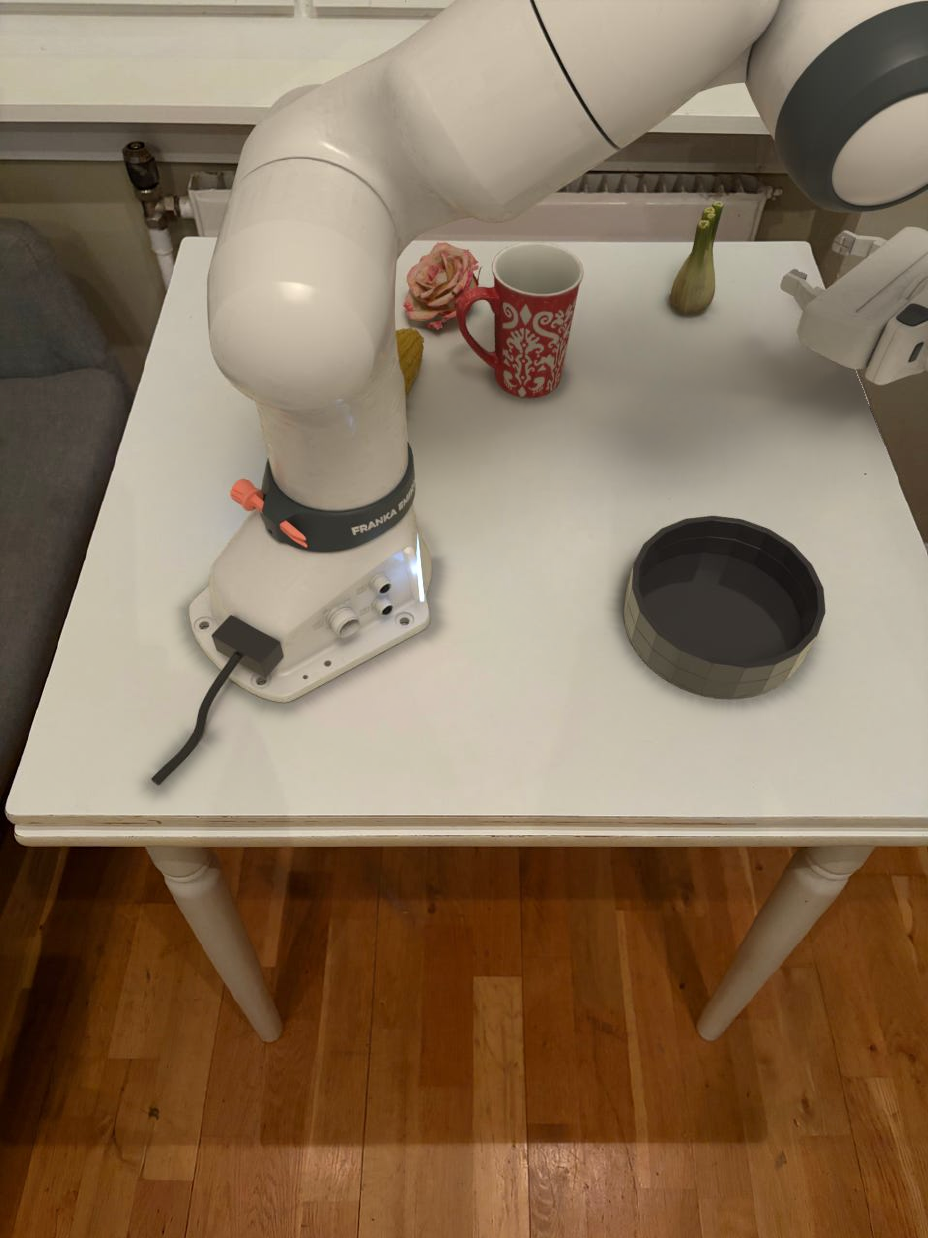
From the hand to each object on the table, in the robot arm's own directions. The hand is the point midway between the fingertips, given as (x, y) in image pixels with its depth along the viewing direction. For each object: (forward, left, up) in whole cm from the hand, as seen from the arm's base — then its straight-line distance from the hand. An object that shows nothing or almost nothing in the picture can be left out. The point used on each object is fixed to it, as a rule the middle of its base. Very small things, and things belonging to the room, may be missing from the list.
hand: (811, 258), depth 96 cm
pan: (-35, -17, -12) cm, 41 cm away
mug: (-24, +18, -12) cm, 33 cm away
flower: (-22, +31, -12) cm, 40 cm away
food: (-39, +24, -12) cm, 47 cm away
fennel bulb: (0, +12, -12) cm, 17 cm away
